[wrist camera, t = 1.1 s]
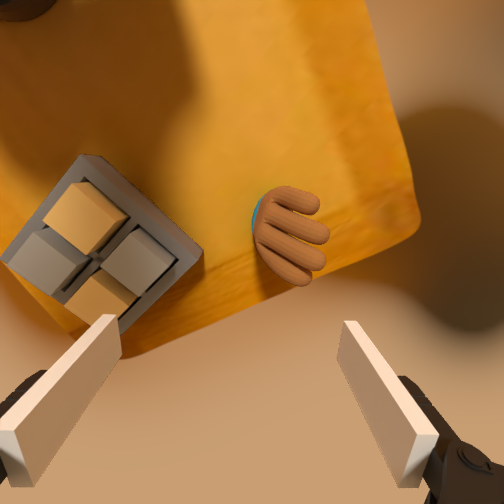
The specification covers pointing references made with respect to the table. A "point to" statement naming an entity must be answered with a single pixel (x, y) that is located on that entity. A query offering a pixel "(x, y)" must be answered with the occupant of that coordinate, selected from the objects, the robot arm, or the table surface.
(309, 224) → the toy
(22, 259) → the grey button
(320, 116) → the table surface
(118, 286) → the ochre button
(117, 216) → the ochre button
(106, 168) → the button board
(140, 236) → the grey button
